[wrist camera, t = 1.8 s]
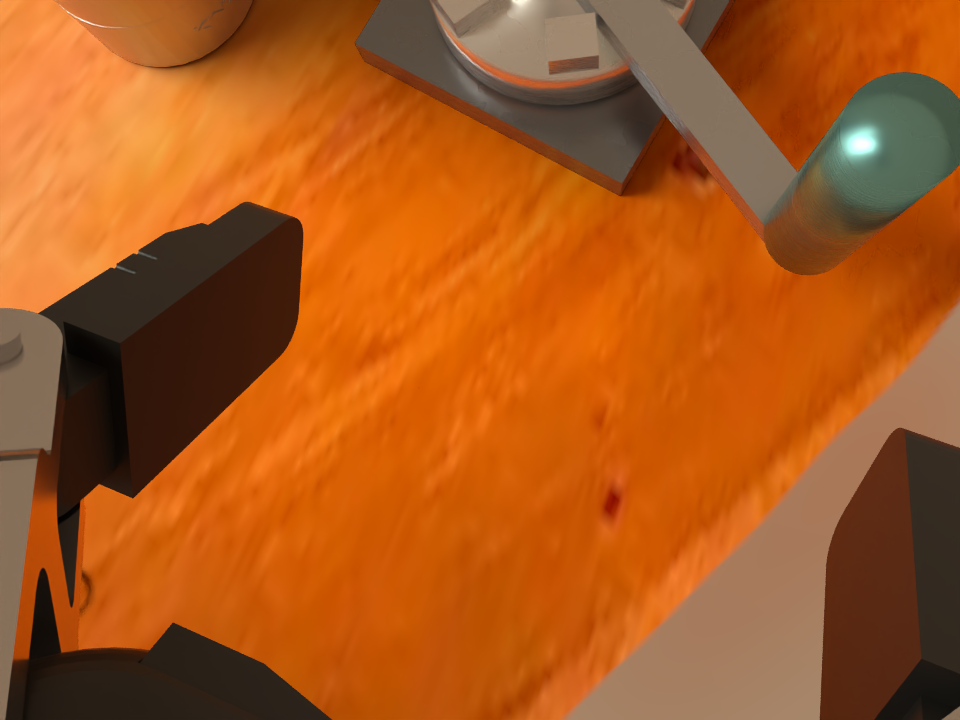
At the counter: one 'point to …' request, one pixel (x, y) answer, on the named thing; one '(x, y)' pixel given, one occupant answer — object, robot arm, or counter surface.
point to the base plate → (543, 128)
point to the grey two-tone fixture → (721, 115)
